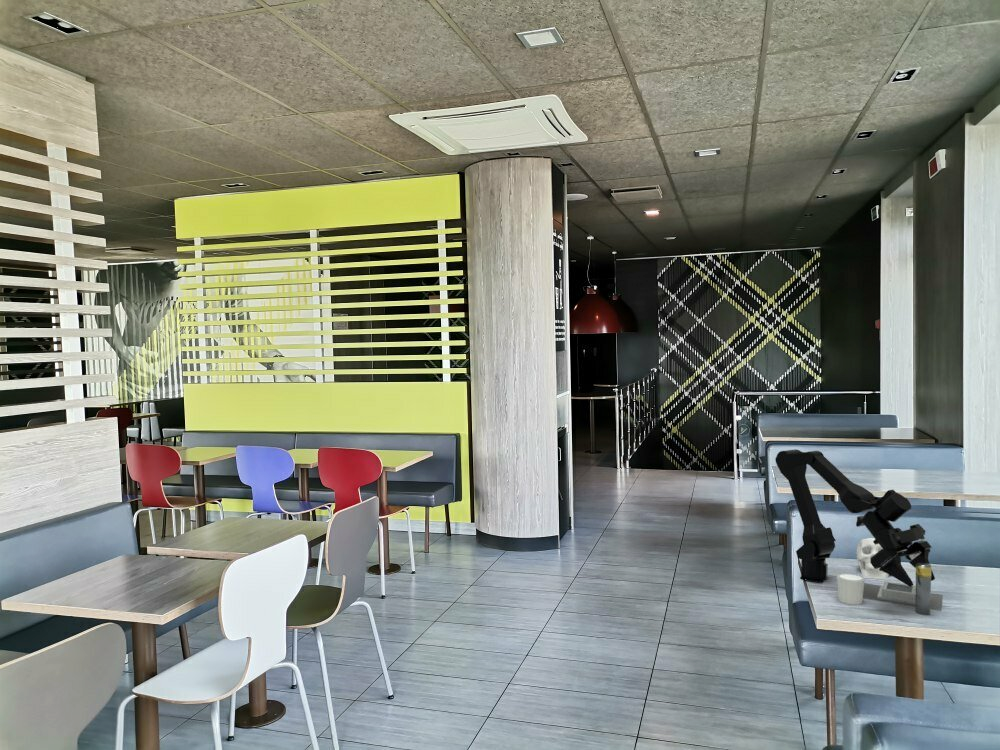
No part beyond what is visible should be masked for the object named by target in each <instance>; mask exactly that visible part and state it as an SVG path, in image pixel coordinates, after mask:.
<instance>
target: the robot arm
mask: <svg viewBox="0 0 1000 750" xmlns="http://www.w3.org/2000/svg"><path fill="white" fill-rule="evenodd" d="M775 464H776V466H777V467H778V469H779V472H780V474H782V476H783V477H784V478H785V479H786V480H787V481H788V484H789V486H790V490H791V493H792V495H793V497H794V501H795V504H796V507H797V511H798V513H799V516H800V520H801V522H802V525H803V531H802V536H801V537H802V542H803V543H802V544H803V545H801V546H800V547H798V549H797V550H795V553H796V557H797V559H799V560H801V567H800V568H801V570H800V571H801V575H800V576H799V580H801V581H802V580H803V581H809V582H815V583H821V584H822V583H824V582H826V581H825V580H827V578H828V577H829V576H828V575H829V573H828V568H829V567H828V566H829V565H828V563H826V560H827V559H829V558H830V557H831V554H832V553H833V552H834V550H835V548H836V544H835V543H836V540H837V539H836V538H835V537H834V535H833V530H832V528H831V526H830V527H825V526H824V525H823V523H822V521H821V520H820V516H819V512H818V509H817V507H816V504H815V502H814V501H815V500H814V499H813V495H812V493H811V489H810V487H809V484H808V481H807V478H806V474H807V468H808V467H807V465H808V466H810V468H812V469H813V470H814V471H815V472H816V473H817V474H818V475H819V476H820V477H821V478H822V479H823V480H824V481H825V482H826V483H827V484H828V485H829V486H830V487H831V488H832V489H833V490H834V491H835V492H836V493H837V494H838V495H839V496H838V497H839V501H841V503H842V504H843V506H844V507H845V509H846V510H847V511H849V512H850V513H851V514H861V513H864V515H859V516H856V523H855V526H856V527H858V528H859V527H863V526H865V528H866V529H867V531H869V533H870V534H871V536H872V538H875V540H874V541H873V542H874V544H875V545H876V544H879V545H880V546H881V547H882V549H881V550H880V551H879V552H877V553H876V554H875V555H874V556H872V557H871V558H870V563H871V565H872V566H873V567H874V569H877V568H880V569H879V570H880V571H883V572H885V573H887V574H889V576H890V577H893V578H895V579H897V580H898V581H899V582H902V584H906V585H908V586H910V587H911V586H914V582H913V581H912V578H911V577H910V576H909V575H908V573H907V571H906V570H905V568H904V567H903V565H902V559H901V558H905V559H906V560H907V561H908V563H909V564H910V565H911V566H912V567H914V568H915V569H916V563H927V564H930V561H929V553H931V549H932V547H933V546H932V545H930V543H929V542H928V541H927V540H925V539H926V538H925V535H926V530H925V528H923V527H922V525H921V524H919V523H916V524H911V525H910V526H909V529H905V530H902V529H901V528H900V527H894V526H893V524H892V523H891V522H893V523H895V522H896V521H899V519H901V518H902V517H903V516H904V515H905V514H906V513H907V512H909V511H910V510H911V509H912V504H911V502H910V500H909V499H908V498H907V497H905V496H904V495H902V494H901V493H898V492H896V491H895V490H894V489H888V490H887V491H886V492H885V493H884V495H882V497H879V496H875V495H874V494H873V493H872V492H871V491H870V490H868V489H866V488H865V487H863V486H862V485H860V484H857V483H854V482H853V481H851V480H850V479H849V478H848V477H847V476H846V475H845V474H844V473H843V472H841V471H840V470H839V469H838V467H836V466H835V465H834V464H833V463H832V462H831V461H830V460H829V459H828V458H826V456H824V454H823V452H822V451H820V450H811V451H810V450H809V451H801V450H799V449H796V448H795V449H788V450H786V449H785V450H780V451H779V452H778V453H777V455H776V457H775ZM805 579H806V580H805ZM935 579H936V577H935V574H934V572H933V569H932V568H931V582H932V581H935Z"/></svg>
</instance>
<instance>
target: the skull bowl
mask: <svg viewBox="0 0 1000 750" xmlns="http://www.w3.org/2000/svg"><path fill="white" fill-rule="evenodd" d="M874 540H875V538H874V537H867V538H864V539H861V540H860V541H859V543H858V544H857V547H856V560H857V563H858V566H859V569H860V573H861V575H863V577H865V578H870V579H874V580H882V579H887V578H889V576H890V575H889V574H887V573H885V572H883V571H880V570H879V569H880V568H877V569H874V567H873V566H872V565H871V563H870V558H871V557H872V556H874V555H875V554H876V553H877V552H879V551H880V550H881V549H882V547H881V546H880V545H879V544H876V545H875V544H874V542H873V541H874Z"/></svg>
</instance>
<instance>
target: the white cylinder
mask: <svg viewBox="0 0 1000 750" xmlns="http://www.w3.org/2000/svg"><path fill="white" fill-rule="evenodd" d="M865 578H866V577H865V576H861V575H858V574H855V573H839V574H837V575H836V581H837V593H838V601H839V602H841V603H843V604H847V605H854V606H855V605H861V604H863V599H864V598H863V590H864V583H865Z"/></svg>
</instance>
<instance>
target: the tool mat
mask: <svg viewBox="0 0 1000 750" xmlns="http://www.w3.org/2000/svg"><path fill="white" fill-rule="evenodd" d="M881 586H882V585H880V584H879V585H878V584H873V583H865V582H864V590H863V599H866V600H873V601H878V602H884V603H892V604H898V605H903V606H909V607H910V606H911V607H915V605H910V604H904V603H898V602H892V601H885V600H879V599H877V595H878V593H879V590H880V587H881ZM943 599H944V598H943V594H938V593H933V592H931V610H935V611H940V612H941V611H942V607H943Z"/></svg>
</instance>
